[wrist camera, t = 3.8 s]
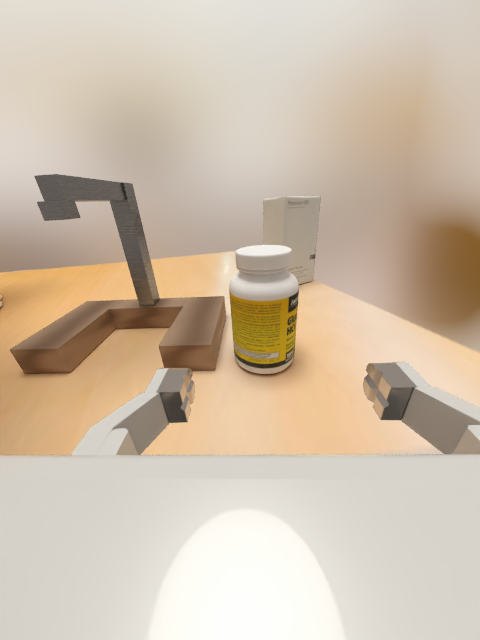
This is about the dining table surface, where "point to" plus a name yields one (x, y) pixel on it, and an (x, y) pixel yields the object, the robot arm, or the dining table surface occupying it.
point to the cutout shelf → (105, 316)
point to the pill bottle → (264, 308)
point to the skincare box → (293, 230)
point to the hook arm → (69, 189)
